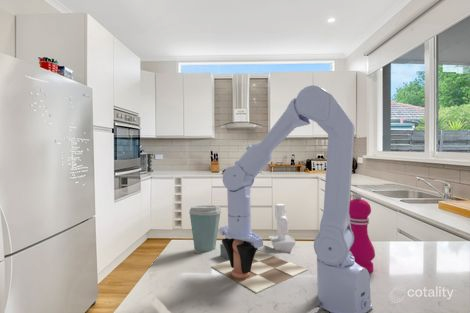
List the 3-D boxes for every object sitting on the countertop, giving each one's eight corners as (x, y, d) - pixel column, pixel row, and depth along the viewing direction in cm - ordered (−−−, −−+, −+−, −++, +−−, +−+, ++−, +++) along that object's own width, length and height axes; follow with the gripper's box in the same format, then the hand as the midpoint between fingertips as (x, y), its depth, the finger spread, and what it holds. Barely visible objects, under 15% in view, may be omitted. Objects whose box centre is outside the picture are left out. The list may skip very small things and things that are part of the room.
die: (241, 259, 77) (241, 244, 77) (229, 263, 74) (229, 247, 74) (232, 255, 80) (232, 240, 81) (220, 259, 78) (220, 243, 78)
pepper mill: (379, 275, 64) (377, 195, 65) (348, 273, 66) (346, 195, 66) (370, 263, 72) (368, 191, 72) (342, 262, 73) (340, 191, 73)
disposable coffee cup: (186, 248, 88) (186, 204, 88) (217, 243, 92) (216, 201, 92) (193, 259, 78) (192, 209, 78) (226, 253, 82) (225, 206, 82)
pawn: (253, 275, 64) (252, 237, 64) (239, 280, 61) (238, 241, 61) (242, 269, 67) (241, 233, 67) (228, 274, 65) (227, 237, 65)
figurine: (274, 256, 79) (272, 206, 79) (268, 245, 88) (267, 201, 89) (297, 254, 79) (296, 206, 80) (289, 244, 89) (287, 201, 89)
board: (308, 273, 66) (308, 269, 66) (256, 298, 55) (256, 292, 55) (259, 254, 80) (259, 250, 81) (211, 270, 69) (211, 266, 69)
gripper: (210, 212, 68) (211, 264, 67) (245, 222, 56) (247, 285, 56) (231, 209, 72) (232, 257, 72) (268, 217, 61) (270, 275, 60)
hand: (240, 269), depth 64 cm, fingers open, 4 cm apart
